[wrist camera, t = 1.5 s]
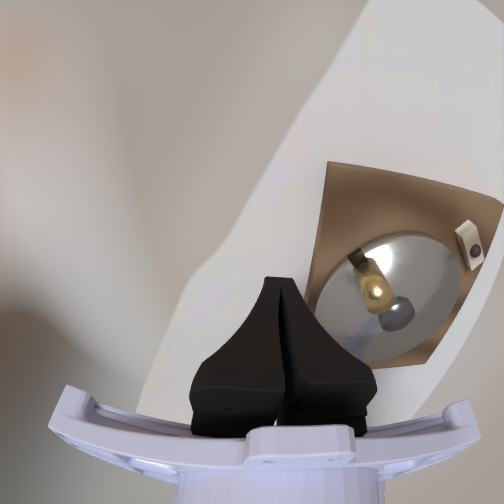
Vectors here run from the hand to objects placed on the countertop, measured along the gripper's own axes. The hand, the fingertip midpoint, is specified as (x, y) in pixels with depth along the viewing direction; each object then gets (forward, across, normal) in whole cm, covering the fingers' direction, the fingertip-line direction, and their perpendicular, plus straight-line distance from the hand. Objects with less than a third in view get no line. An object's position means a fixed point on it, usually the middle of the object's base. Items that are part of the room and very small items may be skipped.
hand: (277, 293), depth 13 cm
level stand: (+7, -11, +5) cm, 14 cm away
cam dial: (+5, -10, +5) cm, 12 cm away
